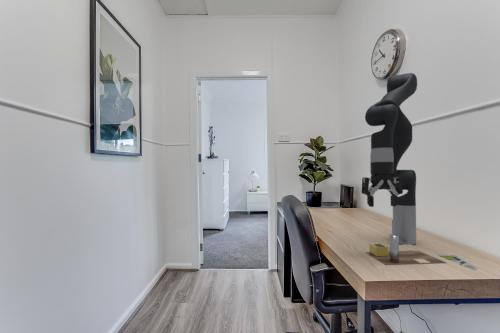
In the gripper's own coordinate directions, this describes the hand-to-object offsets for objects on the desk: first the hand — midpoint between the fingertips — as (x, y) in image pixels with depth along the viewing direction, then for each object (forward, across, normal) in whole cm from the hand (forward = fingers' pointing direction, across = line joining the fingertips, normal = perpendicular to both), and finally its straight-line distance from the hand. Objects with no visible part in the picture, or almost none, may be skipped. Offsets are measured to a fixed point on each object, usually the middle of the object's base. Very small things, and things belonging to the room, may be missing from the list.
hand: (382, 206), depth 96 cm
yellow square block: (+18, -1, -5) cm, 19 cm away
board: (+20, -8, -1) cm, 22 cm away
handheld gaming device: (+21, -26, +1) cm, 33 cm away
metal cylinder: (+19, -2, +3) cm, 19 cm away
